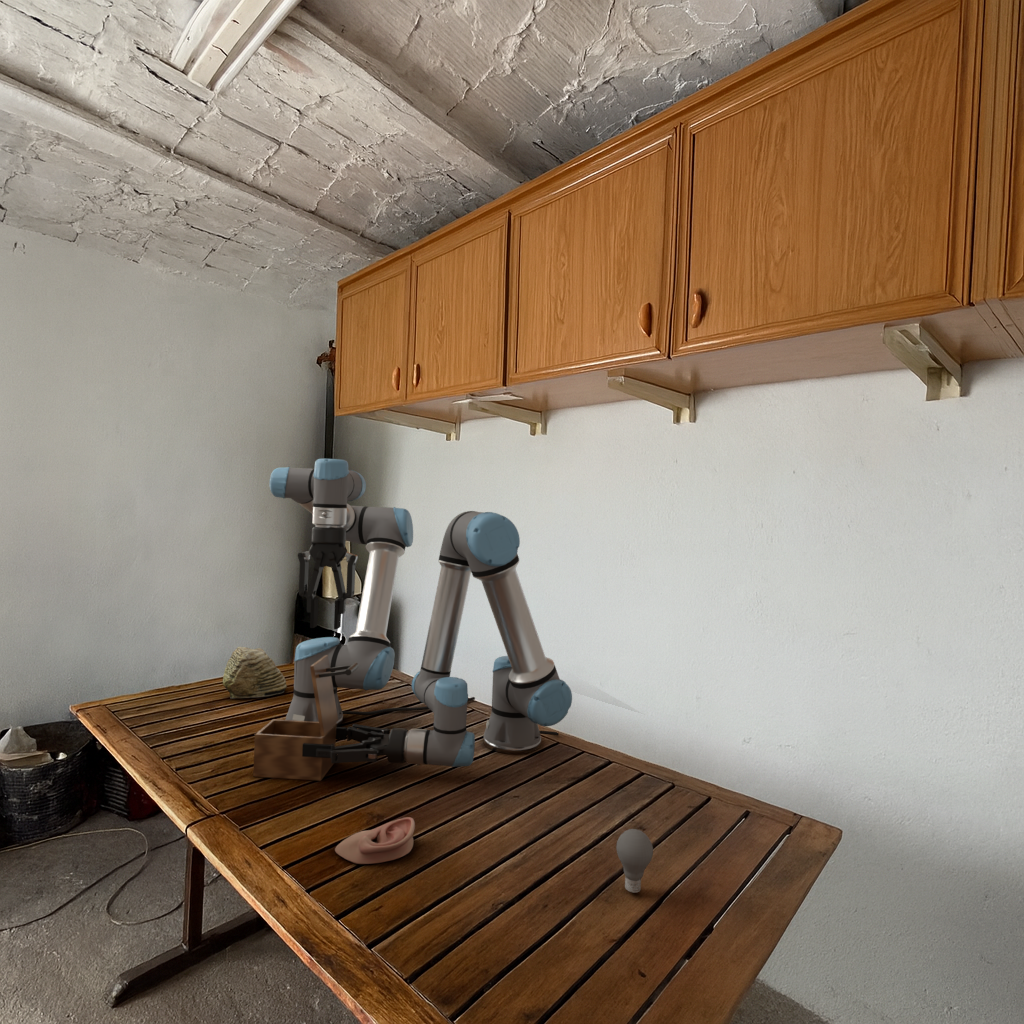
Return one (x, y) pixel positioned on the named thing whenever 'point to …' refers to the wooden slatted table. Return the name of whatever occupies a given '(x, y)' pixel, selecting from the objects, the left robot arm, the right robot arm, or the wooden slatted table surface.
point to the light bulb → (634, 857)
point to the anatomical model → (379, 843)
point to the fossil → (252, 674)
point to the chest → (290, 750)
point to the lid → (326, 691)
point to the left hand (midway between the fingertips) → (325, 627)
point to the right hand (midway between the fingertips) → (311, 740)
